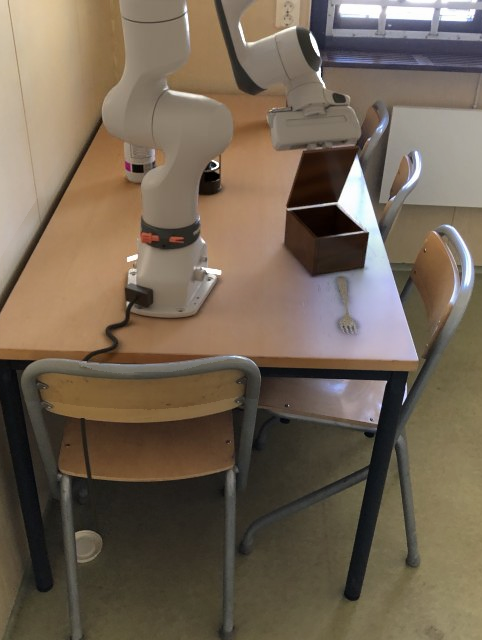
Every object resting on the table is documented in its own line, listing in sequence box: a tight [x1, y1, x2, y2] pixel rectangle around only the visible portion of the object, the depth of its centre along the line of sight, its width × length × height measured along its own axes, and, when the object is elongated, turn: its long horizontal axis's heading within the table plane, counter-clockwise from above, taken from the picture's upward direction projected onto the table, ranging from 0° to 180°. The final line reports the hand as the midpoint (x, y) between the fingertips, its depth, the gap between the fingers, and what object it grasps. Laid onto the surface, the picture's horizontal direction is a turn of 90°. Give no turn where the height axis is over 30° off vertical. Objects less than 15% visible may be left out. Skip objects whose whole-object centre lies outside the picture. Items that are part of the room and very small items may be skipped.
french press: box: [198, 154, 222, 195], centre depth 183 cm, size 12×9×23 cm
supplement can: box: [122, 141, 157, 184], centre depth 188 cm, size 8×8×15 cm
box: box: [283, 202, 370, 277], centre depth 157 cm, size 16×13×9 cm
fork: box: [336, 276, 358, 336], centre depth 141 cm, size 3×24×2 cm, turn 178°
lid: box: [285, 145, 360, 209], centre depth 153 cm, size 17×13×1 cm
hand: (323, 164), depth 151 cm, fingers closed, pressing on lid
